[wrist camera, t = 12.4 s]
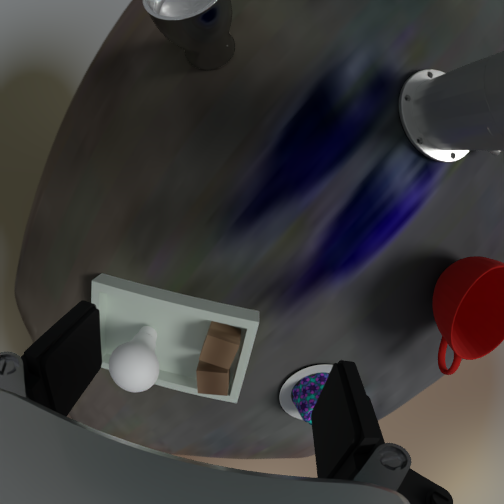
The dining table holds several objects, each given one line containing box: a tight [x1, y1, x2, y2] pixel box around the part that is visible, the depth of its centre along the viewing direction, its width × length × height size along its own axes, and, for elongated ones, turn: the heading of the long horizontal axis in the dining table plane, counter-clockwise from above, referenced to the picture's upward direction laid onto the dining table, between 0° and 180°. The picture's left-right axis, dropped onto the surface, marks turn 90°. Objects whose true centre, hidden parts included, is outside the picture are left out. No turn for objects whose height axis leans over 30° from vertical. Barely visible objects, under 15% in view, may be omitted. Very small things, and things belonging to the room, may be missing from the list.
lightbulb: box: [109, 326, 159, 392], centre depth 35 cm, size 6×6×11 cm
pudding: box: [279, 364, 333, 425], centre depth 41 cm, size 12×12×5 cm
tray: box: [91, 273, 259, 403], centre depth 40 cm, size 22×14×3 cm, turn 77°
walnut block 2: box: [196, 360, 230, 396], centre depth 40 cm, size 4×4×4 cm
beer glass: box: [143, 0, 235, 70], centre depth 24 cm, size 7×7×15 cm
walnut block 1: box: [199, 321, 241, 370], centre depth 38 cm, size 4×4×4 cm
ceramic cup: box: [432, 257, 504, 375], centre depth 34 cm, size 13×17×10 cm
